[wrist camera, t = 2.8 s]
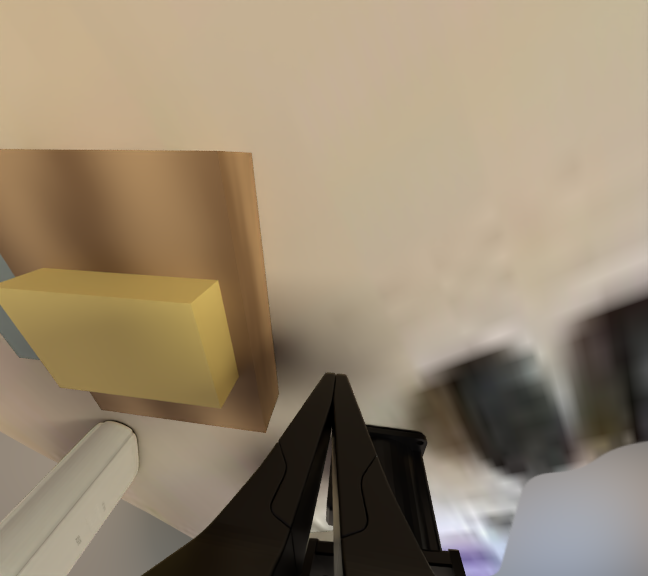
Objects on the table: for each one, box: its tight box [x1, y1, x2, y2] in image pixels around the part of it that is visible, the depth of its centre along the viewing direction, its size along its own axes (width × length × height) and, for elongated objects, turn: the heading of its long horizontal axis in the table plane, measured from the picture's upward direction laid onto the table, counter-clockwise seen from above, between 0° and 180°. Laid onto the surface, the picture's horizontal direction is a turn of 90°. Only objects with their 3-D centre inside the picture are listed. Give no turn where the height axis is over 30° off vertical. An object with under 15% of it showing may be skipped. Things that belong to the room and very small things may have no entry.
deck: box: [0, 149, 279, 433], centre depth 14 cm, size 12×16×3 cm
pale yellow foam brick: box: [0, 268, 239, 409], centre depth 12 cm, size 9×6×2 cm, turn 89°
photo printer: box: [0, 421, 139, 576], centre depth 21 cm, size 10×4×12 cm, turn 159°
